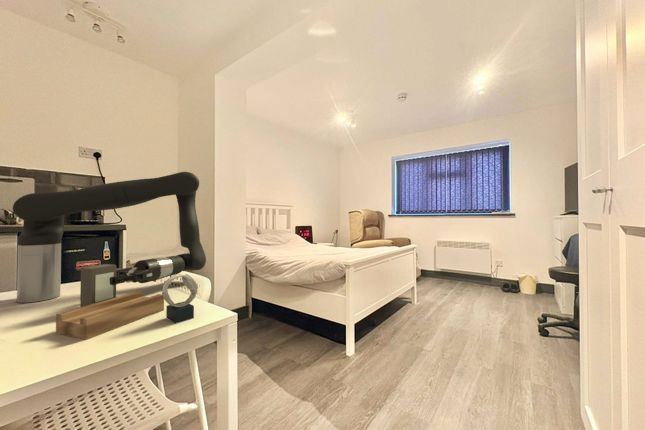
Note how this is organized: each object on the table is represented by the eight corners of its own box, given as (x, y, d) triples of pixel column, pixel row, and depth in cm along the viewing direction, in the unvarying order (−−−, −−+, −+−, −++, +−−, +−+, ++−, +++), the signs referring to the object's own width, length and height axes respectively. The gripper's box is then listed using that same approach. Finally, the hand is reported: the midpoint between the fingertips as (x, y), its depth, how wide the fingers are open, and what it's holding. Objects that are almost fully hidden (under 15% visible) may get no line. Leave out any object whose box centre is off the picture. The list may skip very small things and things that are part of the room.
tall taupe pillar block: (80, 312, 68) (80, 267, 68) (105, 305, 74) (105, 264, 74) (91, 314, 67) (92, 268, 67) (116, 306, 73) (116, 264, 73)
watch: (201, 315, 66) (201, 273, 66) (167, 326, 59) (167, 279, 59) (191, 310, 69) (191, 270, 69) (158, 320, 63) (158, 275, 63)
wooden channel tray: (55, 333, 56) (56, 314, 56) (137, 306, 73) (137, 291, 73) (86, 339, 53) (86, 319, 53) (164, 309, 70) (164, 294, 70)
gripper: (138, 257, 88) (83, 265, 73) (170, 259, 84) (118, 268, 69) (138, 278, 88) (82, 291, 73) (169, 281, 84) (117, 295, 69)
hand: (99, 280), depth 71 cm, fingers open, 8 cm apart
